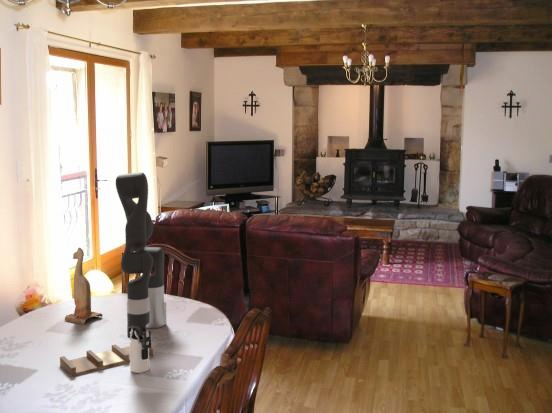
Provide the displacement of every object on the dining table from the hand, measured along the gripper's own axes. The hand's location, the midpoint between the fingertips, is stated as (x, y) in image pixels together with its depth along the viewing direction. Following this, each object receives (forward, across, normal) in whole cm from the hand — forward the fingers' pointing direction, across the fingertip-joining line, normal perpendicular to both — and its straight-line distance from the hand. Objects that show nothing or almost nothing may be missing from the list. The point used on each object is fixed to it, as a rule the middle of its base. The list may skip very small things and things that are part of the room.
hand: (139, 355), depth 212 cm
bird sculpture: (+6, +63, -3) cm, 63 cm away
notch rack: (+5, +14, +6) cm, 16 cm away
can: (+6, 0, 0) cm, 6 cm away
